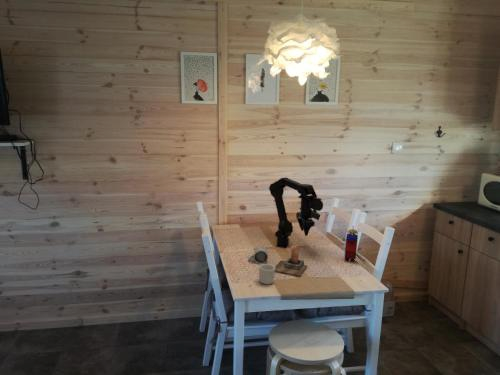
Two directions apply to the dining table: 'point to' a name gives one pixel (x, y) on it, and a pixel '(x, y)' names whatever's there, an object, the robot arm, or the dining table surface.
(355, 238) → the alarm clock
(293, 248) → the peg
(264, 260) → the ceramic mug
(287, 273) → the socket board
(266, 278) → the cup
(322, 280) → the dining table surface
